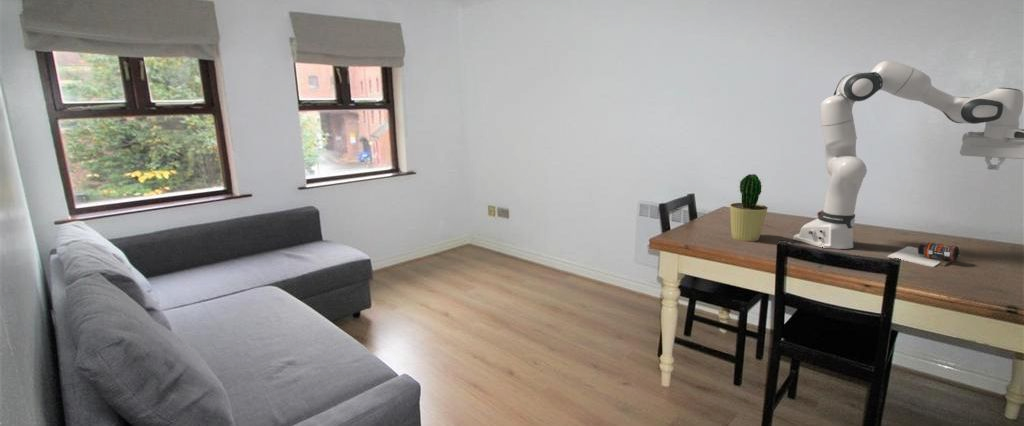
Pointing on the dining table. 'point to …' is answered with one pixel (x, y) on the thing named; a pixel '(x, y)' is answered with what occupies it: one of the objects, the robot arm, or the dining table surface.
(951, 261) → the strip
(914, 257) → the mat
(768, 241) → the dining table surface
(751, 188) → the potted cactus
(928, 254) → the supplement bottle
